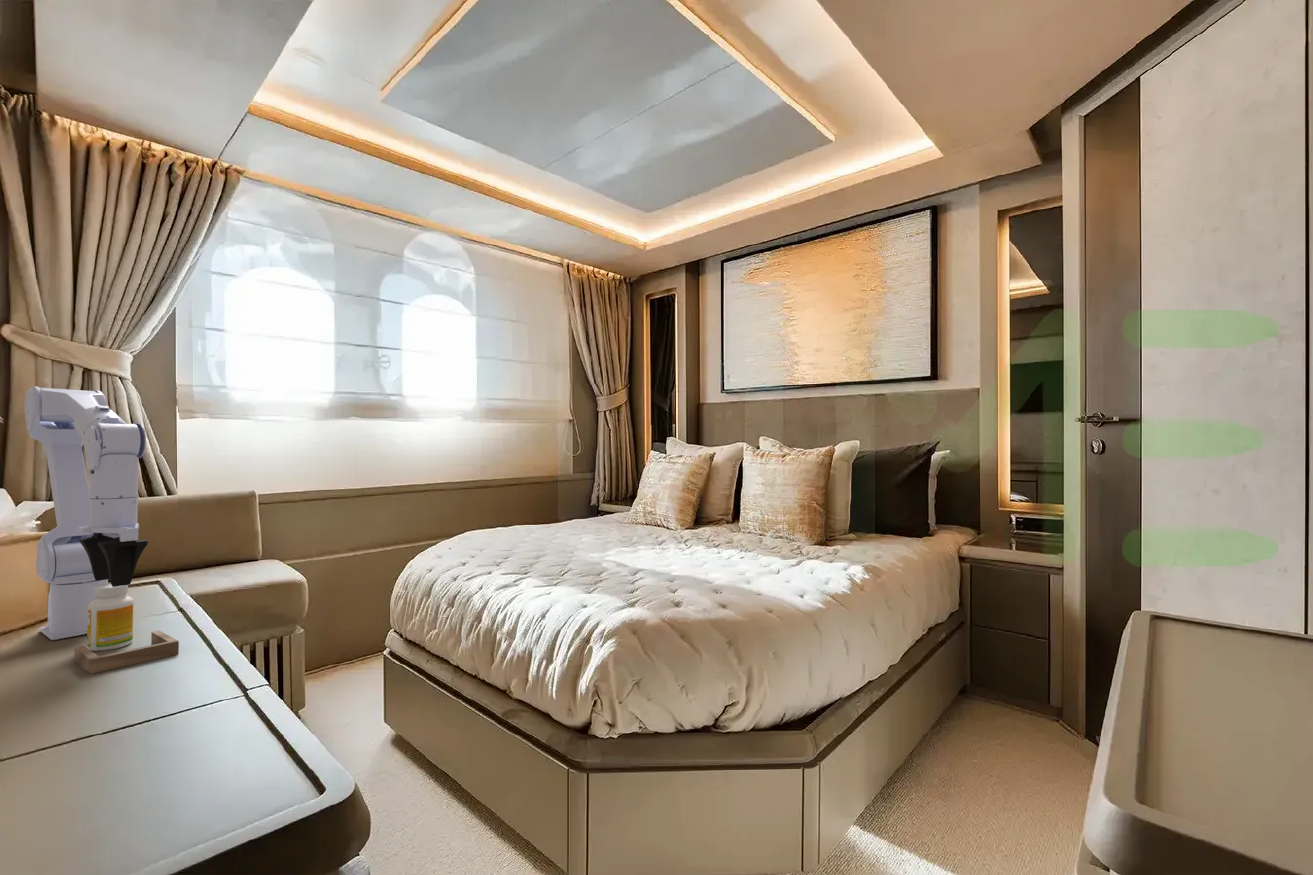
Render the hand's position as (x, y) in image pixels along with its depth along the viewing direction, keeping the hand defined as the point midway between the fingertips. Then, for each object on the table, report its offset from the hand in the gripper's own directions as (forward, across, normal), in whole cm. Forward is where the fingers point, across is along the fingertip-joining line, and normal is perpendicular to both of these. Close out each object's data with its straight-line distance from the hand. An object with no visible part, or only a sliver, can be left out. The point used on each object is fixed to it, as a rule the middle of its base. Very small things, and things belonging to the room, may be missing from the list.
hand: (112, 582), depth 94 cm
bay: (+10, +8, 0) cm, 13 cm away
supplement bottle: (+10, -1, 0) cm, 11 cm away
